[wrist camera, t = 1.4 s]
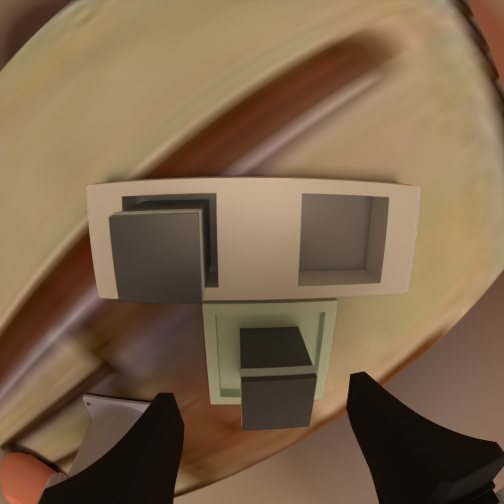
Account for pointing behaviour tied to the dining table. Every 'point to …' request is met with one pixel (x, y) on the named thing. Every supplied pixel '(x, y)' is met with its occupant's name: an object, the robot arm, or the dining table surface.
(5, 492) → the sugar bowl
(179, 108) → the dining table surface
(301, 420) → the plug
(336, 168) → the dining table surface
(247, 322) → the tray
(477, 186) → the dining table surface
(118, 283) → the twin plug
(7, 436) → the dining table surface
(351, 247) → the strip
